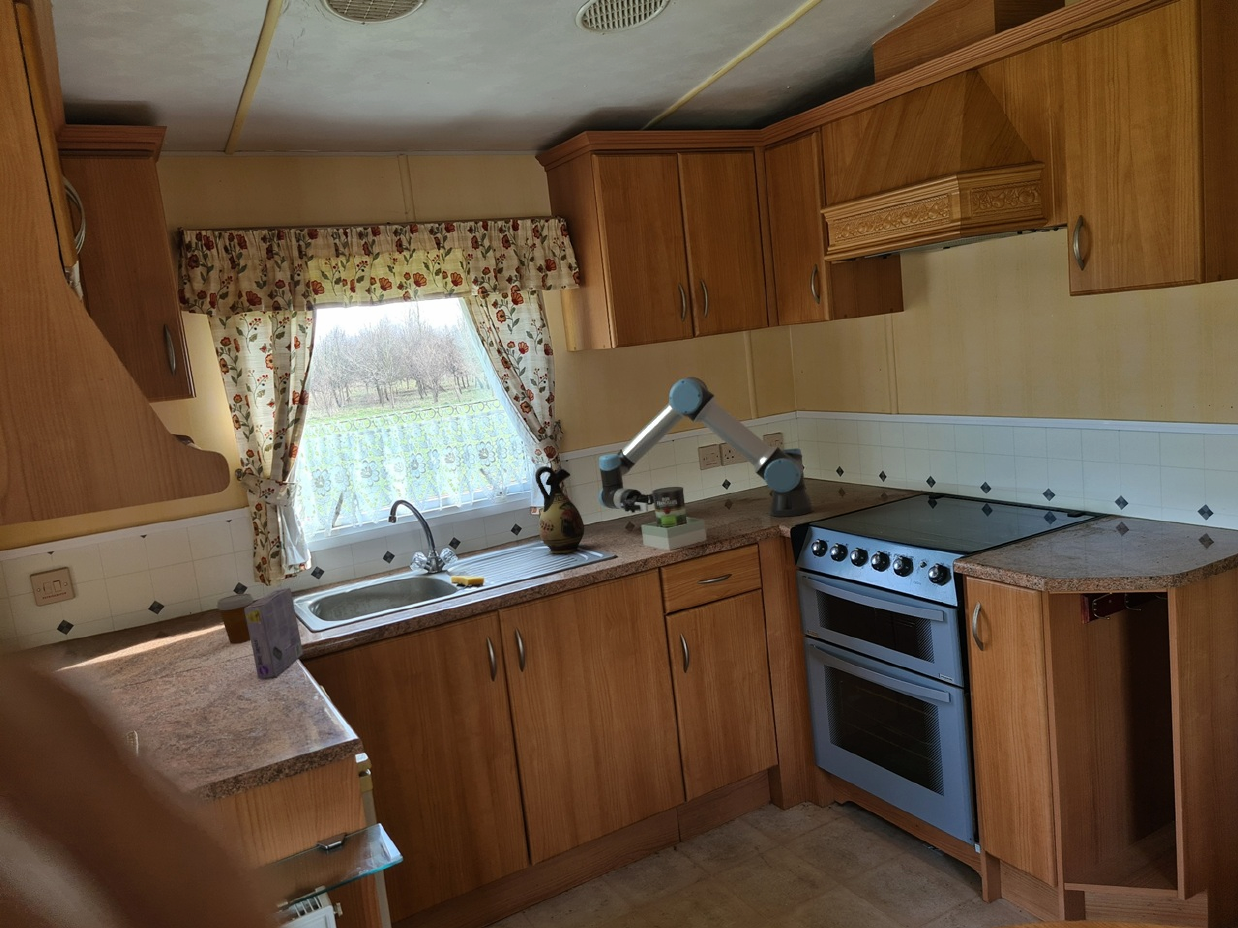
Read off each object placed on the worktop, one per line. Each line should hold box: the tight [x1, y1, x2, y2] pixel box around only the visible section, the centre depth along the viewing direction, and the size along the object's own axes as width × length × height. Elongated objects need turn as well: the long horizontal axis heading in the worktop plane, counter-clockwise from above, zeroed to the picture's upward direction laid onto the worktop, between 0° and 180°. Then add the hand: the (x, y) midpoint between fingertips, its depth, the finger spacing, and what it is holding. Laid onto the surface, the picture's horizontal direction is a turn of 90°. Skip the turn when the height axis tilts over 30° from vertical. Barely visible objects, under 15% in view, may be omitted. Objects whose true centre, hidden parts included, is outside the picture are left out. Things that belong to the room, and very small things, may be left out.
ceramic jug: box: [534, 465, 585, 554], centre depth 324 cm, size 17×15×30 cm
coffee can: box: [651, 486, 687, 528], centre depth 314 cm, size 10×10×14 cm
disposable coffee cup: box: [216, 593, 254, 644], centre depth 262 cm, size 10×10×12 cm
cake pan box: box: [244, 587, 304, 680], centre depth 231 cm, size 19×5×18 cm, turn 178°
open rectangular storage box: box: [640, 516, 707, 551], centre depth 315 cm, size 15×15×7 cm
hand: (663, 503), depth 316 cm, fingers open, 13 cm apart
